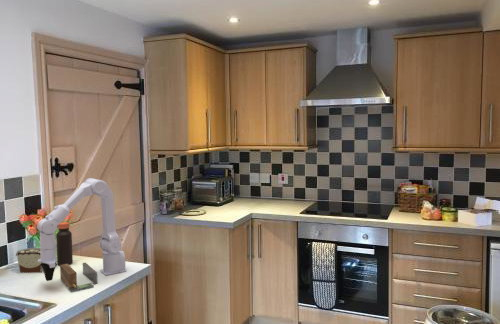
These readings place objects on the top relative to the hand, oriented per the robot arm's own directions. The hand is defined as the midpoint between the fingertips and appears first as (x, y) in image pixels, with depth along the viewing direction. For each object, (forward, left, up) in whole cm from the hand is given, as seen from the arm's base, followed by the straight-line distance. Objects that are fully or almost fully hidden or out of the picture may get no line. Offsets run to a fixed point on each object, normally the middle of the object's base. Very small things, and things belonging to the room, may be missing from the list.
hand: (49, 280), depth 176 cm
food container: (+1, -26, -3) cm, 26 cm away
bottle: (-13, -27, -3) cm, 30 cm away
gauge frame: (-11, +2, -3) cm, 12 cm away
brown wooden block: (-7, +2, -3) cm, 8 cm away
